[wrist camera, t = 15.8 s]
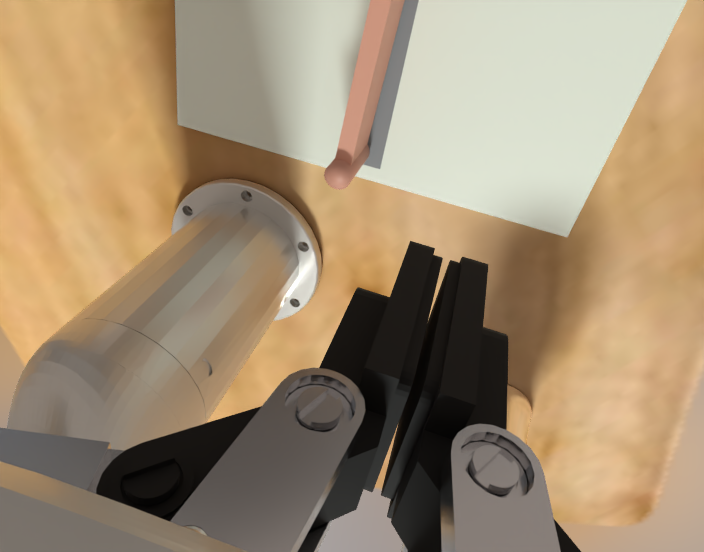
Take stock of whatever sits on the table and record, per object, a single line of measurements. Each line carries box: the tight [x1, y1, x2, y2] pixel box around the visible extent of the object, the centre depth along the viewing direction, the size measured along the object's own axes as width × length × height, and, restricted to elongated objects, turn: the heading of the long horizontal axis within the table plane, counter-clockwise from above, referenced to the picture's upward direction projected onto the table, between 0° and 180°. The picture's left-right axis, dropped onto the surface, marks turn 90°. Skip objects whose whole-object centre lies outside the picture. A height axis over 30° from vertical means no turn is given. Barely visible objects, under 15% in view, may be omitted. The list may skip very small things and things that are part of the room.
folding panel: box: [324, 0, 405, 189], centre depth 27 cm, size 15×2×5 cm, turn 166°
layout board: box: [175, 0, 687, 237], centre depth 29 cm, size 18×28×1 cm, turn 79°
